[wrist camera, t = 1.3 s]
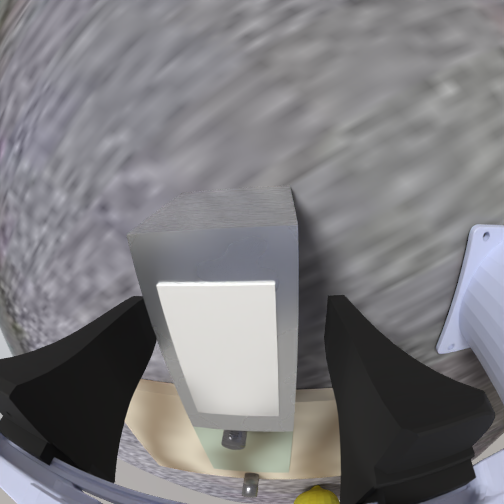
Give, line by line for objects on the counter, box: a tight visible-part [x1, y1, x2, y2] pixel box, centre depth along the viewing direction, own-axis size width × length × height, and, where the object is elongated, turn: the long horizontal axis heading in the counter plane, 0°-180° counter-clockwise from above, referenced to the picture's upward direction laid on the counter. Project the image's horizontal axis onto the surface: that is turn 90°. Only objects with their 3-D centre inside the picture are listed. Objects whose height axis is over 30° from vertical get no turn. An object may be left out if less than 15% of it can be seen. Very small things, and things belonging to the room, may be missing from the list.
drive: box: [127, 186, 299, 432], centre depth 11 cm, size 4×9×5 cm, turn 4°
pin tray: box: [125, 379, 341, 497], centre depth 17 cm, size 20×15×4 cm
